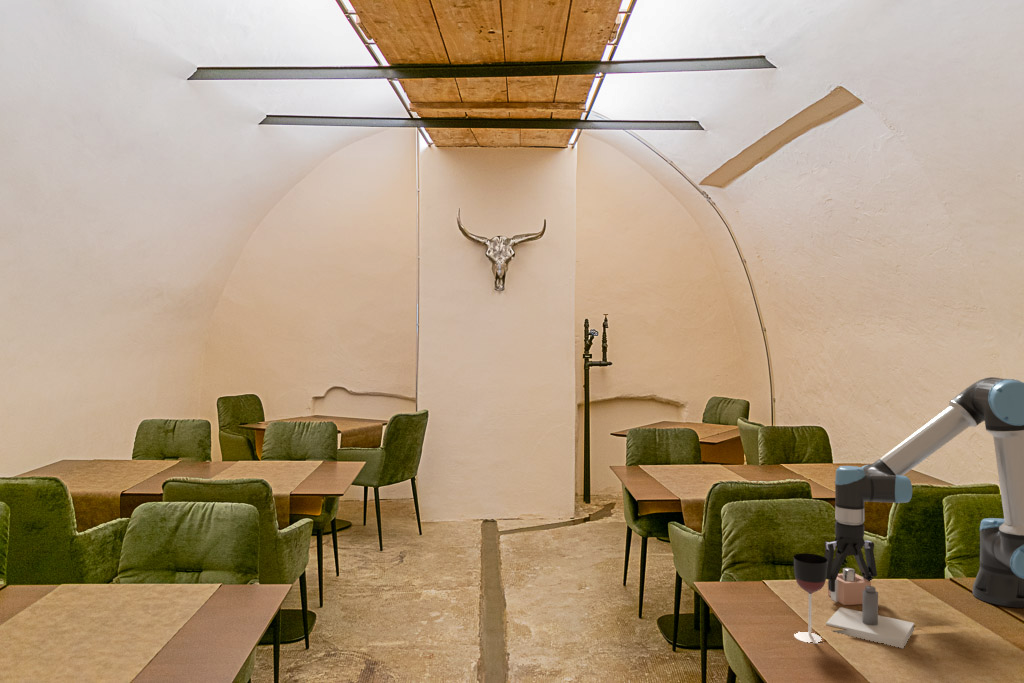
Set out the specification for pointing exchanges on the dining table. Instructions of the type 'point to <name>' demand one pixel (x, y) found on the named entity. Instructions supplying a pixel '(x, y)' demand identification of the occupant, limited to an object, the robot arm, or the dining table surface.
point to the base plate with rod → (871, 622)
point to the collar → (851, 590)
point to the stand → (848, 574)
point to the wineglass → (810, 585)
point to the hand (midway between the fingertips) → (849, 601)
